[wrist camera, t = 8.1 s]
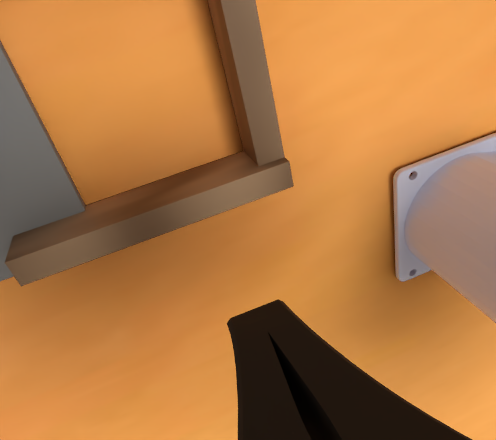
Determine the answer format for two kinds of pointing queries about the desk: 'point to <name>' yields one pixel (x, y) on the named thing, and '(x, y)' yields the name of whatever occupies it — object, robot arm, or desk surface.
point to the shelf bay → (185, 183)
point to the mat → (28, 167)
